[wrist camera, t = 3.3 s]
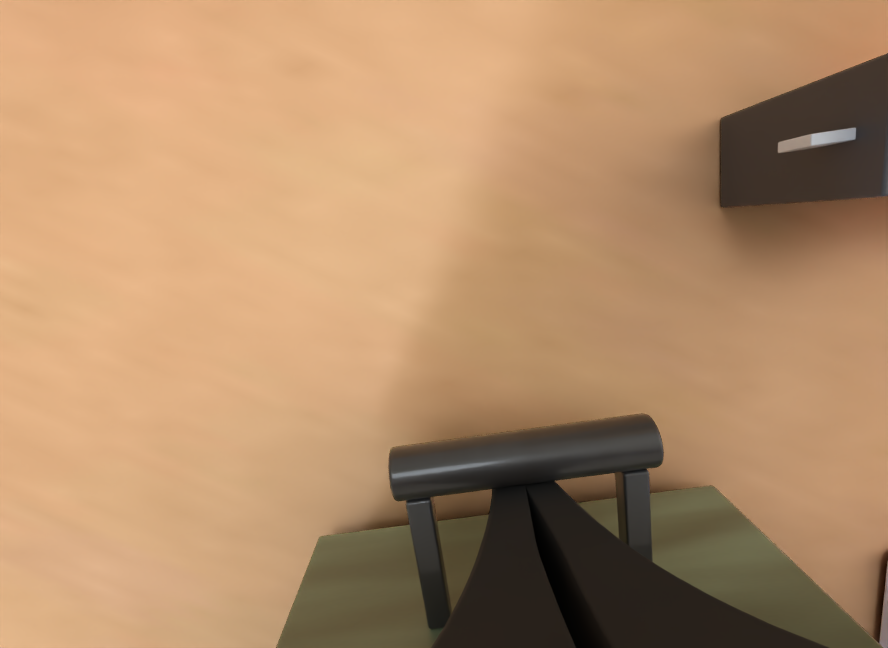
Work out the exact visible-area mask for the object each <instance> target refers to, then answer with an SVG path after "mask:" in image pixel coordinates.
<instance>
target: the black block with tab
mask: <svg viewBox="0 0 888 648" xmlns="http://www.w3.org/2000/svg"><path fill="white" fill-rule="evenodd" d="M886 196H888V53H887V54H885V55H882V56H880V57H877V58H874V59H872V60H869V61H867V62H864V63H862V64H859V65H856V66H854V67H851V68H849V69H846V70H843V71H841V72H838V73H836V74H833V75H831V76H828V77H825V78H823V79H820V80H818V81H815V82H813V83H810V84H807V85H805V86H802V87H800V88H797V89H794V90H792V91H789V92H787V93H784V94H782V95H779V96H776V97H774V98H771V99H769V100H766V101H763V102H761V103H758V104H756V105H753V106H751V107H748V108H745V109H743V110H740V111H738V112H735V113H733V114H730V115H727V116H725V117H723V118H721V207H723V208H727V207H741V206H756V205H771V204H786V203H801V202H816V201H831V200H846V199H861V198H876V197H886Z"/></svg>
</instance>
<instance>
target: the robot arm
mask: <svg viewBox="0 0 888 648" xmlns="http://www.w3.org/2000/svg"><path fill="white" fill-rule="evenodd" d="M879 644H880V645H881V646H882V647H883V648H888V562H887V572H886V582H885V591H884V601H883V611H882V621H881V631H880V641H879ZM431 648H829V647H827V646H824V645H822V644H819V643H817V642H814V641H812V640H809V639H807V638H804V637H801V636H799V635H796V634H794V633H791V632H789V631H786V630H784V629H781V628H779V627H776V626H774V625H772V624H769V623H767V622H765V621H763V620H761V619H759V618H756V617H754V616H752V615H750V614H748V613H746V612H743V611H741V610H739V609H737V608H735V607H733V606H731V605H729V604H727V603H725V602H723V601H721V600H719V599H717V598H715V597H713V596H711V595H709V594H707V593H705V592H703V591H701V590H700V589H698V588H696V587H694V586H692V585H691V584H689V583H687V582H685V581H683V580H682V579H680V578H678V577H676V576H675V575H673V574H671V573H670V572H668V571H666V570H665V569H663V568H661V567H660V566H658V565H657V564H655V563H653V562H652V561H650V560H649V559H647V558H646V557H644V556H643V555H641V554H640V553H638V552H637V551H635V550H634V549H632V548H631V547H630V546H628V545H627V544H626V543H624V542H623V541H622V540H620V539H619V538H618V537H616V536H615V535H614V534H613V533H611V532H610V531H609V530H607V529H606V528H605V527H604V526H603V525H601V524H600V523H599V522H598V521H597V520H595V519H594V518H593V517H592V516H591V515H590V514H589V513H587V512H586V511H585V510H584V509H583V508H582V507H581V506H580V505H578V504H577V503H576V502H575V501H574V500H573V499H572V498H571V497H570V496H569V495H568V494H567V493H566V492H565V491H564V490H563V489H562V488H561V487H560V486H559V485H558V484H557V483H556V482H555V481H549V482H541V483H534V484H526V485H518V486H511V487H503V488H496V489H492V499H491V506H490V512H489V516H488V520H487V525H486V529H485V533H484V536H483V539H482V542H481V545H480V549H479V552H478V555H477V558H476V561H475V563H474V566H473V568H472V571H471V573H470V576H469V578H468V580H467V583H466V585H465V587H464V589H463V592H462V594H461V596H460V598H459V600H458V602H457V604H456V606H455V608H454V610H453V611H452V613H451V615H450V617H449V619H448V621H447V623H446V624H445V626H444V628H443V630H442V631H441V633H440V634H439V636H438V637H437V639H436V641H435V642H434V644H433V645H432V647H431Z"/></svg>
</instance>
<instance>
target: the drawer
mask: <svg viewBox="0 0 888 648" xmlns="http://www.w3.org/2000/svg"><path fill="white" fill-rule="evenodd" d="M663 456H664V452H663V444H662V439H661V436H660V433H659V430H658V428H657V426H656V424H655V422H654V421H653V420H652V418H651V417H650V416H649V415H647V414H635V415H627V416H620V417H612V418H605V419H598V420H590V421H583V422H575V423H568V424H560V425H553V426H546V427H538V428H531V429H523V430H516V431H509V432H501V433H494V434H486V435H479V436H472V437H464V438H457V439H449V440H442V441H434V442H427V443H420V444H412V445H405V446H397V447H393V448H391V450H390V453H389V480H390V487H391V491H392V495H393V497H394V499H395V500H396V501H404V500H406V509H407V515H408V520H409V525H403V526H396V527H388V528H380V529H373V530H365V531H357V532H350V533H342V534H334V535H327V536H321V537H319V539H318V542H317V544H316V547H315V550H314V552H313V555H312V557H311V560H310V562H309V565H308V567H307V570H306V573H305V575H304V578H303V580H302V583H301V585H300V588H299V590H298V593H297V596H296V598H295V601H294V603H293V606H292V608H291V611H290V613H289V616H288V619H287V621H286V624H285V626H284V629H283V631H282V634H281V637H280V639H279V642H278V644H277V647H276V648H431V647H432V645H433V644H434V642H435V641H436V639H437V637H438V636H439V634H440V633H441V631H442V630H443V628H444V626H445V624H446V623H447V621H448V619H449V617H450V615H451V613H452V611H453V610H454V608H455V606H456V604H457V602H458V600H459V598H460V596H461V594H462V592H463V589H464V587H465V585H466V583H467V580H468V578H469V576H470V573H471V571H472V568H473V566H474V563H475V561H476V558H477V555H478V552H479V549H480V545H481V542H482V539H483V536H484V533H485V529H486V525H487V520H488V516H489V514H488V515H480V516H473V517H465V518H457V519H450V520H442V521H437V518H436V512H435V506H434V500H433V497H435V496H442V495H450V494H458V493H465V492H473V491H480V490H488V489H496V488H503V487H511V486H518V485H526V484H534V483H541V482H549V481H556V480H564V479H571V478H579V477H587V476H594V475H602V474H609V473H615V480H616V497H617V498H611V499H603V500H595V501H588V502H580V503H577V504H578V505H580V506H581V507H582V508H583V509H584V510H585V511H586V512H587V513H589V514H590V515H591V516H592V517H593V518H594V519H595V520H597V521H598V522H599V523H600V524H601V525H603V526H604V527H605V528H606V529H607V530H609V531H610V532H611V533H613V534H614V535H615V536H616V537H618V538H619V539H620V540H622V541H623V542H624V543H626V544H627V545H628V546H630V547H631V548H632V549H634V550H635V551H637V552H638V553H640V554H641V555H643V556H644V557H646V558H647V559H649V560H650V561H652V562H653V563H655V564H657V565H658V566H660V567H661V568H663V569H665V570H666V571H668V572H670V573H671V574H673V575H675V576H676V577H678V578H680V579H682V580H683V581H685V582H687V583H689V584H691V585H692V586H694V587H696V588H698V589H700V590H701V591H703V592H705V593H707V594H709V595H711V596H713V597H715V598H717V599H719V600H721V601H723V602H725V603H727V604H729V605H731V606H733V607H735V608H737V609H739V610H741V611H743V612H746V613H748V614H750V615H752V616H754V617H756V618H759V619H761V620H763V621H765V622H767V623H769V624H772V625H774V626H776V627H779V628H781V629H784V630H786V631H789V632H791V633H794V634H796V635H799V636H801V637H804V638H807V639H809V640H812V641H814V642H817V643H819V644H822V645H824V646H827V647H829V648H883V647H882V646H881V645H880V644H879V643H878V642H877V641H876V640H875V639H874V638H873V637H872V636H871V635H870V634H869V633H867V632H866V631H865V630H864V629H863V628H862V627H861V626H860V625H859V624H858V623H857V622H856V621H855V620H854V619H853V618H852V617H851V616H850V615H849V614H848V613H846V612H845V611H844V610H843V609H842V608H841V607H840V606H839V605H838V604H837V603H836V602H835V601H834V600H833V599H832V598H831V597H830V596H829V595H828V594H826V593H825V592H824V591H823V590H822V589H821V588H820V587H819V586H818V585H817V584H816V583H815V582H814V581H813V580H812V579H811V578H810V577H809V576H808V575H806V574H805V573H804V572H803V571H802V570H801V569H800V568H799V567H798V566H797V565H796V564H795V563H794V562H793V561H792V560H791V559H790V558H789V557H788V556H787V555H785V554H784V553H783V552H782V551H781V550H780V549H779V548H778V547H777V546H776V545H775V544H774V543H773V542H772V541H771V540H770V539H769V538H768V537H767V536H765V535H764V534H763V533H762V532H761V531H760V530H759V529H758V528H757V527H756V526H755V525H754V524H753V523H752V522H751V521H750V520H749V519H748V518H747V517H745V516H744V515H743V514H742V513H741V512H740V511H739V510H738V509H737V508H736V507H735V506H734V505H733V504H732V503H731V502H730V501H729V500H728V499H727V498H726V497H724V496H723V495H722V494H721V493H720V492H719V491H718V490H717V489H716V488H715V487H714V486H711V485H710V486H703V487H695V488H687V489H680V490H672V491H664V492H657V493H650V486H649V472H648V470H647V468H655V467H658V466H660V465H661V464H662V462H663Z"/></svg>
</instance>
